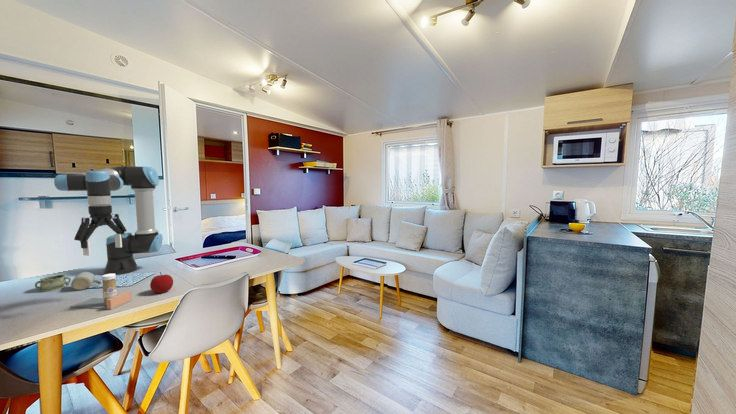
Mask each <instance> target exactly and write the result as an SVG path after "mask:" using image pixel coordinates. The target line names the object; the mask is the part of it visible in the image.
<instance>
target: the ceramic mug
mask: <svg viewBox="0 0 736 414" xmlns="http://www.w3.org/2000/svg"><path fill="white" fill-rule="evenodd" d="M70 285H71V288H72V289H74V290H75V291H83V290H86V289H88V288H89V287H92V288H96V287H97V286H98V287H101V286H102V285H103V282H102V280H101V281H100V280H99V279H96V276H95V275H94V273H92V272H89V271H82V272H80V273H77V275H76V276H74V278H73V279H72V280H71V283H70ZM100 285H101V286H100ZM98 287H97V288H98Z"/></svg>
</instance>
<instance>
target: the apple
mask: <svg viewBox="0 0 736 414" xmlns="http://www.w3.org/2000/svg"><path fill="white" fill-rule="evenodd" d="M159 274H160V275H156V276H154V277H153V278H152V279H150V280H151V281H150V284H149V286H150V290H151V291H152V292H153V293H155V294H163V293H166V292H168V291H170V290H171V289H172V288H173V286H174V279H173V277H172V276H171V275H169V274H162V273H161V272H159Z"/></svg>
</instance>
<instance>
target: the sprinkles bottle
mask: <svg viewBox="0 0 736 414" xmlns="http://www.w3.org/2000/svg"><path fill="white" fill-rule="evenodd" d="M116 278H117V275H116V274H114V273H111V274H102V275H101V282H102V296H103V298H104V305H107V302H106V300H107V299H110V298H112V297H115V296H117V294H118V293H117V284H116V283H117V282H116Z"/></svg>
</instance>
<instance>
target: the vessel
mask: <svg viewBox="0 0 736 414" xmlns="http://www.w3.org/2000/svg"><path fill="white" fill-rule="evenodd" d="M67 280H68V281H67ZM70 282H72V280H71V278H70V276H66V274H54V275H48V276H44V277H41V278H40V279H39V280H38V281H35V284H34V287H35V288H36V290H38V291H40V290H42V292H44V293H48V292H55V291H59V290H62V289H64V288H65V286H69V285H70ZM38 285H39V286H38ZM64 285H65V286H64Z"/></svg>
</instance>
